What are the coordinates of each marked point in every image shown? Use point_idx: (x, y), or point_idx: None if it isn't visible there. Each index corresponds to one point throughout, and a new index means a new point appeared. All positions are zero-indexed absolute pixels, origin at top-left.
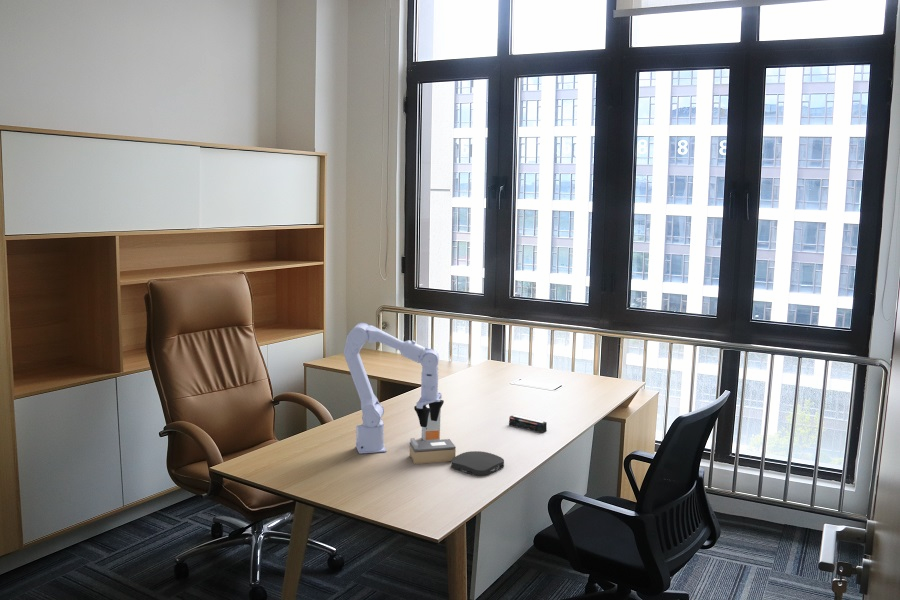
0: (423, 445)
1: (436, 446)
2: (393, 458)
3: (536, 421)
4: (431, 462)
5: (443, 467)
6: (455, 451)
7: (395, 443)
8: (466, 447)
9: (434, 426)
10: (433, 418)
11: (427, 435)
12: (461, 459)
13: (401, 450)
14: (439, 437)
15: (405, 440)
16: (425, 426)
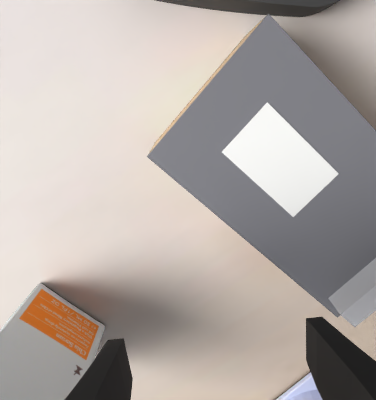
0: (357, 221)
1: (332, 142)
2: None
3: None
4: None
5: (371, 34)
6: (259, 22)
7: (205, 393)
8: (20, 110)
9: (32, 353)
10: (124, 378)
11: (85, 336)
12: None
13: (264, 332)
14: (35, 291)
15: (149, 385)
16: (328, 322)
